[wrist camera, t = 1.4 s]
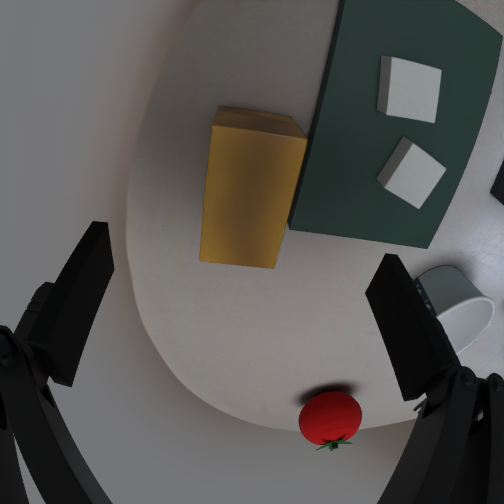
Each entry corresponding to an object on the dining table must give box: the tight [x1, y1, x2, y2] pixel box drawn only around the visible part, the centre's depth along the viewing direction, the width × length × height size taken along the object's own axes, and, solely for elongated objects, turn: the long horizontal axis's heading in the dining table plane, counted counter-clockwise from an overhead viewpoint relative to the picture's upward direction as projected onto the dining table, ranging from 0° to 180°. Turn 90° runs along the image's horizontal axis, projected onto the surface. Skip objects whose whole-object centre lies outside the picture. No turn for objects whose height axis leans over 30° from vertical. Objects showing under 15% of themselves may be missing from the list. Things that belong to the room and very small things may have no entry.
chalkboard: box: [287, 0, 503, 249], centre depth 18 cm, size 22×14×1 cm, turn 171°
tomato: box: [299, 391, 362, 451], centre depth 42 cm, size 10×10×10 cm
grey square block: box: [377, 55, 441, 123], centre depth 16 cm, size 4×4×2 cm
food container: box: [413, 266, 495, 355], centre depth 29 cm, size 12×12×6 cm
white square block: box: [377, 136, 446, 209], centre depth 20 cm, size 4×4×2 cm
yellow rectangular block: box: [199, 106, 308, 269], centre depth 19 cm, size 5×9×6 cm, turn 171°
